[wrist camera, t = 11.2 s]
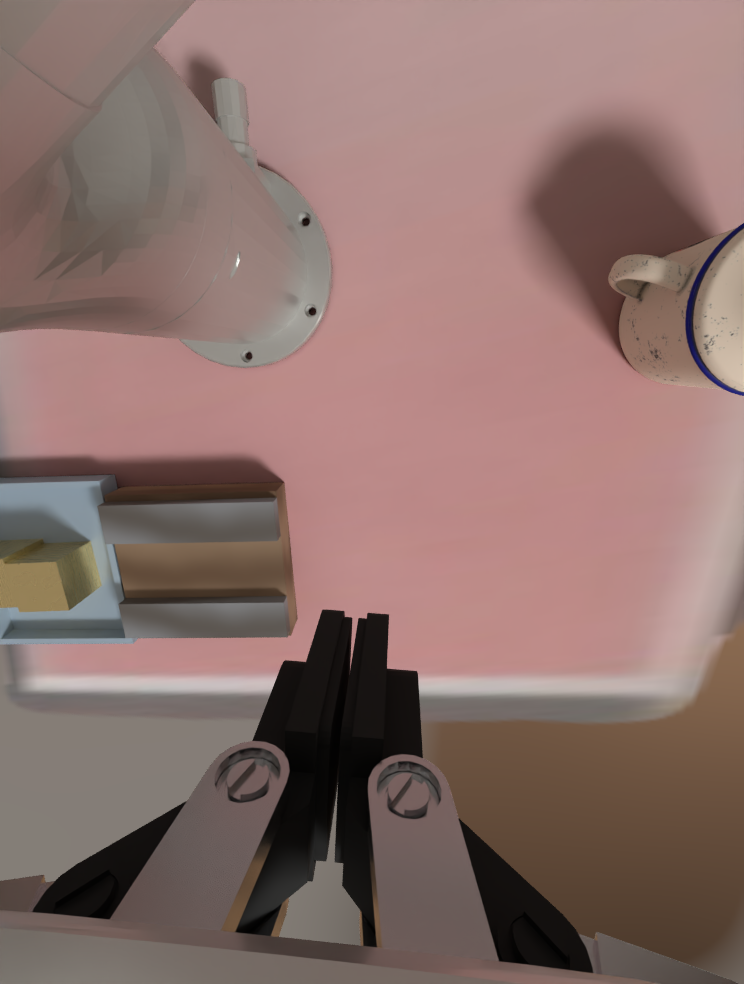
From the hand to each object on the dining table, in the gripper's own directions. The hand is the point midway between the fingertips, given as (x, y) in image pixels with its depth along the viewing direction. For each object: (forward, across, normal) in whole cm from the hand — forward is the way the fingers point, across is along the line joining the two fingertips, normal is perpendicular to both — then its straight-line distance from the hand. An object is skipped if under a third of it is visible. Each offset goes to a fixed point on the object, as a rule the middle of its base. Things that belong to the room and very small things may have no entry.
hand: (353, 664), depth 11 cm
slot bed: (+24, +14, +9) cm, 29 cm away
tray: (+24, +26, +10) cm, 37 cm away
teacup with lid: (+25, -18, -12) cm, 33 cm away
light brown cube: (+24, +25, +10) cm, 36 cm away
